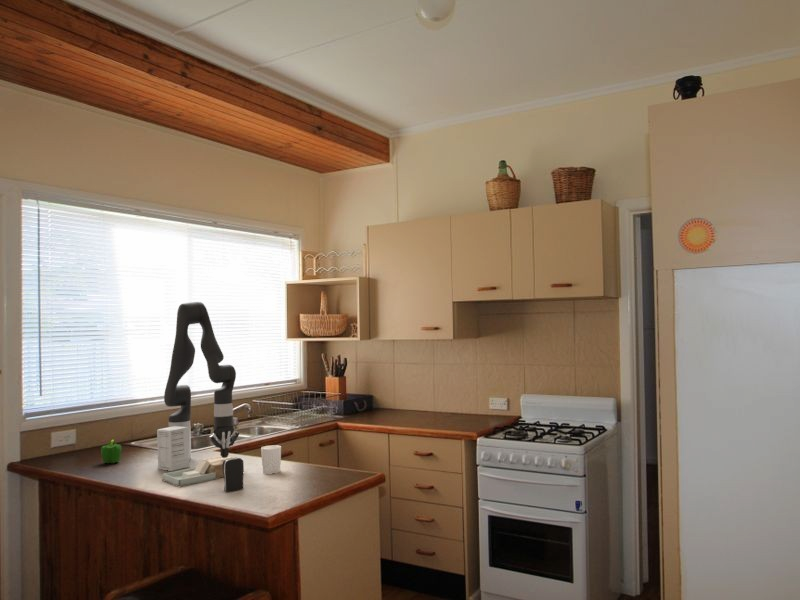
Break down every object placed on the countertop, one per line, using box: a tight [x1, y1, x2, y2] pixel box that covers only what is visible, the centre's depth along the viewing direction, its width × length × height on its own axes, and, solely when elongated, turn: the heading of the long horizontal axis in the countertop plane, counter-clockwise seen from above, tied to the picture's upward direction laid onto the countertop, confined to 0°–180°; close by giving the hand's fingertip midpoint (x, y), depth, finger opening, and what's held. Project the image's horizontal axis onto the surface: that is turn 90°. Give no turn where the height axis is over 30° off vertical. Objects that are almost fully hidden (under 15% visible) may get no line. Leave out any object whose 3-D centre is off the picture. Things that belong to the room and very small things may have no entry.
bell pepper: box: [100, 439, 123, 464], centre depth 279 cm, size 8×8×10 cm
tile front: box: [182, 470, 200, 479], centre depth 243 cm, size 5×5×2 cm
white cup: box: [260, 444, 282, 475], centre depth 251 cm, size 8×8×10 cm
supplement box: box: [156, 426, 190, 472], centre depth 264 cm, size 10×9×17 cm
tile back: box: [194, 458, 210, 474], centre depth 247 cm, size 5×5×2 cm
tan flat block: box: [198, 455, 245, 479], centre depth 252 cm, size 14×12×5 cm
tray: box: [161, 466, 217, 487], centre depth 243 cm, size 15×15×2 cm
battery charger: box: [222, 457, 244, 493], centre depth 225 cm, size 7×4×11 cm, turn 131°
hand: (224, 457), depth 253 cm, fingers closed
